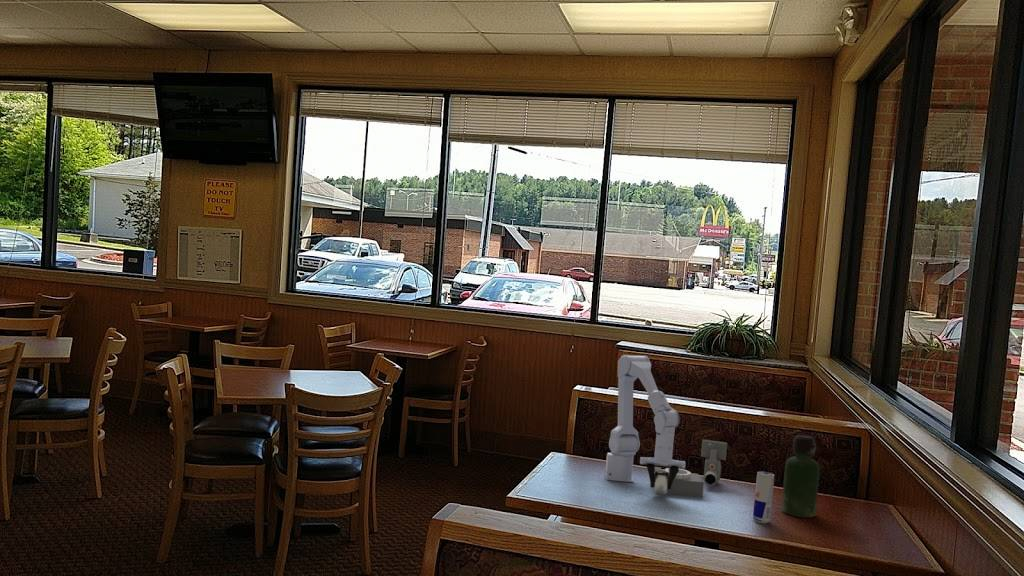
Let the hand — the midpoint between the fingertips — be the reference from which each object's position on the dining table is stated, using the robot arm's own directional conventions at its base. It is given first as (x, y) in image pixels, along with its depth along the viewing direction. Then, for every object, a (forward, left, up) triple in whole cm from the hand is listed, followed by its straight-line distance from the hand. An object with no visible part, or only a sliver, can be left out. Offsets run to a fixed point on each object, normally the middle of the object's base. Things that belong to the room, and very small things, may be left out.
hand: (660, 487), depth 266 cm
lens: (0, 0, -2) cm, 2 cm away
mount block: (+7, +11, -3) cm, 13 cm away
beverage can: (+29, -16, -3) cm, 33 cm away
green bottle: (+44, -3, -3) cm, 44 cm away
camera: (+21, +23, -4) cm, 31 cm away
